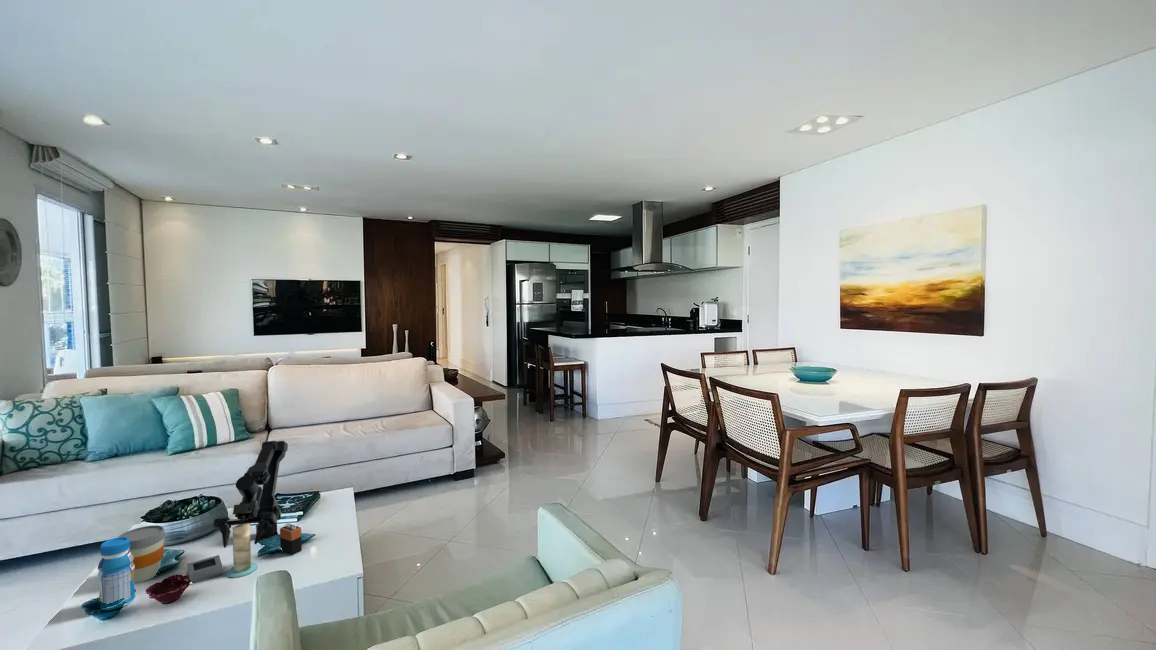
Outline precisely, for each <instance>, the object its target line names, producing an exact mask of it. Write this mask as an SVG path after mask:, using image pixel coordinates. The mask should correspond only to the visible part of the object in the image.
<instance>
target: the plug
mask: <svg viewBox="0 0 1156 650" xmlns="http://www.w3.org/2000/svg"><path fill="white" fill-rule="evenodd" d="M251 547H252V546H251V523H249V524H240V525H234V526H233V527H232V551H233V552H232V557H233V567H234V572H235V573H240V572H244V571H247V570H249V569H250V568H251V561H252V556H251V555H252V554H251V553H252V551H251Z"/></svg>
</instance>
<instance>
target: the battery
mask: <svg viewBox="0 0 1156 650" xmlns="http://www.w3.org/2000/svg"><path fill="white" fill-rule="evenodd" d="M279 539H280V540H279V544H280V545H279V547H281V548H282V550H283V552H282V553H284V552H285V554H286V553H287V555H290V556H294V555H295V554H297V553H299V552H302V545H303V544H302V527H300V526H297V525H294V524H292V523H285V524H284V526H281V527H280V528H279Z"/></svg>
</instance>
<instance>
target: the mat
mask: <svg viewBox="0 0 1156 650" xmlns="http://www.w3.org/2000/svg"><path fill="white" fill-rule="evenodd" d="M257 569H258V564H257V563H256V562H251V568H250V569H249V570H247V571H244V572H240V573H235V572H234V566H232V567H230V568H229V569H228V570H227V571H226V573H225V574H226V577H227V576H228V577H227V578H229V577H233V578H232V579H236V578H235V577H238V578H242V577H246V576H249V575H250V574H252V573H254V572H256V571H257Z"/></svg>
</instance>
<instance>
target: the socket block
mask: <svg viewBox="0 0 1156 650" xmlns="http://www.w3.org/2000/svg"><path fill="white" fill-rule="evenodd" d="M186 574H187V577H188V576H189V579H190V580H191V582H192V583H194V584H197V583H201V582H203V581H207V580H210V579H214V578H217V577H220V576H222V575H223V564H222V560H221V558H220V555H219V554H218V555H214V556H210V557H206V558H203V559H200V560H195V561H192V562H189V563H186Z"/></svg>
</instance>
